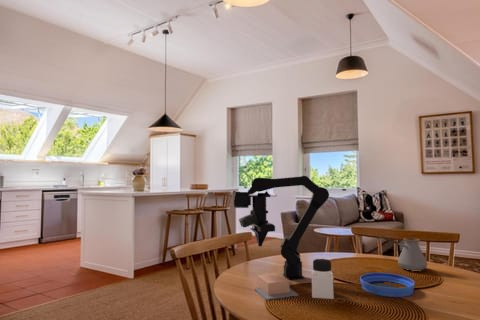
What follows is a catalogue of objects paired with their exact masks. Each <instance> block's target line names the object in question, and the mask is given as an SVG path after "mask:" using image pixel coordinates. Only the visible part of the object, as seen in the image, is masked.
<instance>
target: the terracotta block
mask: <svg viewBox="0 0 480 320" xmlns="http://www.w3.org/2000/svg"><path fill="white" fill-rule="evenodd" d="M257 287H258V288H261V289H262V290H263V291H264V292H265V293H266V294H267V295H273V294H281V293H289V292H290V289H291V288H290V279H288V278H286V277H285V276H283V275H281V274H280V273H279V272H276V273H275V272H274V273H265V274H258V275H257Z"/></svg>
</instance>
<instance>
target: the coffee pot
mask: <svg viewBox="0 0 480 320" xmlns="http://www.w3.org/2000/svg"><path fill="white" fill-rule="evenodd" d="M380 238H381V239H380ZM378 239H379V241H380V242H381V241H383V240H385V241H388V242H390V243H393V244H396V245H398V246H400V247H403V248H402V250H401V252H400V255H399V258H398V259H397V263H398V265H399V266H400V267H401V268H402V269H403V268H404V269H408V270H425V269H426V268H427V267H428V262H427V260H426V258H425V255H424V254H423V252H422V249H421V247H420V245H419V243H420V241H421V239H419V238H415V237H404V238H403V241H404V244H403V243H401V242H398V241H396V240H393V239H392V238H388V237H387V236H384V235H381V236H379V238H378ZM404 269H403V270H404Z"/></svg>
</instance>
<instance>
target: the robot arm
mask: <svg viewBox="0 0 480 320" xmlns="http://www.w3.org/2000/svg"><path fill="white" fill-rule="evenodd" d="M296 186H297V187H298V186H302V187H305V188H306V189H307V190H309V191H310V192H311V193H312V194H311V198H310V201H309V203H308V206H307V208H306V209H305V211H304V213H303V214H302V217H301V218H300V219H299V221H298V223H297V225H296V227H295V229H294V230H293V232H292V233H291V234H290V235H289V236H287V235H285V237H284V240H283V241H282V242H281V243H280V255H281V257H282V258H283V259H285V260H284V264H283V273H282V276H283V277H284V278H286V279H287V280H289V281H290V280H298V279H299V280H301V279H304V278H305V276H304V275H303V261H301V260H302V259H301V253H300V252H299V251H297V250H298V248H299V247H298V246H299V244H300V241H301V239H302V237H303V236H304V234H305V232H306V231H307V228H308V227H309V225H310V223H311V222H312V220H313V219H314V217H315V216H316V213H317V212H318V210H319V209H320V208H321V207H322V206H323V205H324V204H325V203H326V201H327V200H328V199H329V197H330V193H329V191H328V189H327V188H326V187H323V186H319V185H318V184H317V183H315V182H314V181H313V180H312V179H310V178H309V176H307V175H302V176H293V177H291V176H290V177H280V178H279V177H278V178H271V177H256V178H254V179H253V180H252V181H251V187H250V188H249V189H248V191H235V192H234V198H233V206H234V207H233V208H234V209H249V207H250V206H251V207H252V209H251V210H250V211H249V212H250V213H249V214H247V215H244V216H243V217H239V219H238V221H239V224H240V227H243V228H247V227H250V226H251V228H250V230H251V232H253V233H254V235H255V239H256V242H257V243H256V244H257V246H258V247H262V246H263V243H264V242H265V238H266V237H267V236H268V233H269V232H275V231H276V226H275V224H273V223H271V222H269V220H268V219H267V214H269V210H267V198H271V196H272V195H271V194H270V192H268V190H270V189H274V188H287V187H296ZM264 191H265V192H264ZM257 192H258V193H257ZM255 193H257V195H256V194H255ZM253 194H255V195H253Z"/></svg>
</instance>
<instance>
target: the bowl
mask: <svg viewBox="0 0 480 320" xmlns="http://www.w3.org/2000/svg"><path fill="white" fill-rule="evenodd" d="M359 281H360V284H361V288H362V289H363V291H366V292H367V293H369V294H373V295H377V296H382V297H387V296H388V297H390V298H403V297H404V298H405V297H408V296H411V295H412V294H413V293H414V289H415V285H416V284H415V281H414V280H413V279H411V278H410V277H407V276H404V275H399V274H397V273H396V274H395V273H389V272H369V273H364V274H362V275H360V277H359ZM381 282H383V283H381ZM384 282H391V283H397V284H401V285H404V286H406V287H403V288H399V287H395V286H392V285H391V284H384Z"/></svg>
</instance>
